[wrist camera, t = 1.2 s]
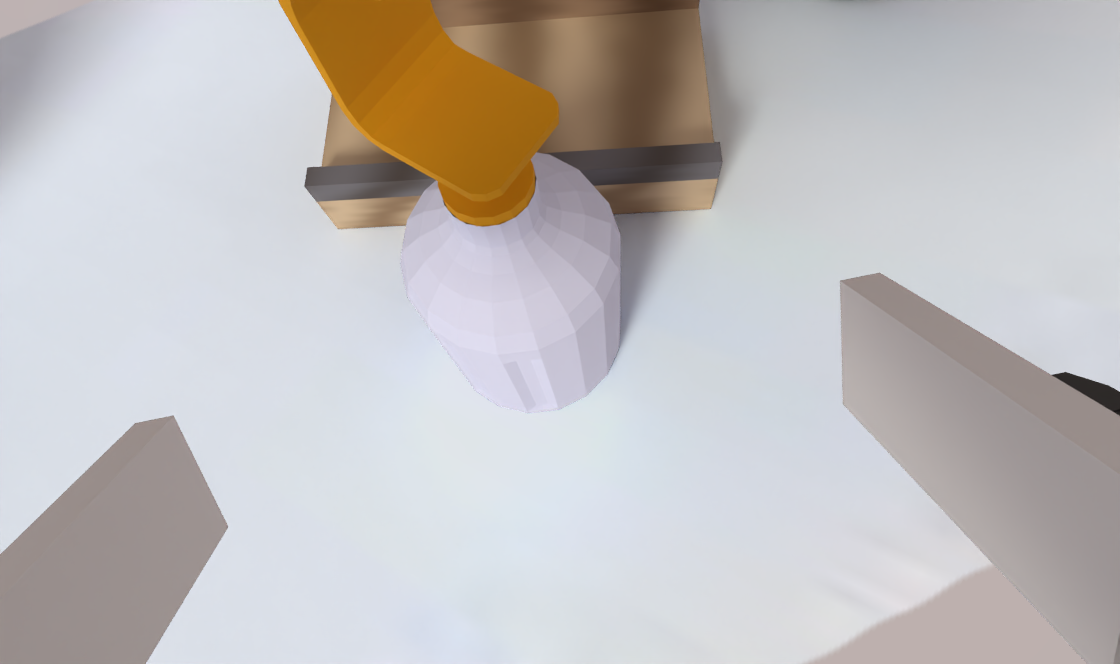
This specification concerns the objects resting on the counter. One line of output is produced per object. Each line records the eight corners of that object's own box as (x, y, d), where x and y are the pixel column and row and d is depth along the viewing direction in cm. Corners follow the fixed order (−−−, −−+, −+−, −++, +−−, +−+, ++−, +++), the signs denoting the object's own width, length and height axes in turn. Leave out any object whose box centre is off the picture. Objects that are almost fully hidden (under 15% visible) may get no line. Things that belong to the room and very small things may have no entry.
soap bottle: (560, 448, 33) (432, 151, 11) (422, 357, 36) (78, -44, 13) (652, 310, 36) (710, -177, 13) (517, 234, 38) (364, -291, 15)
